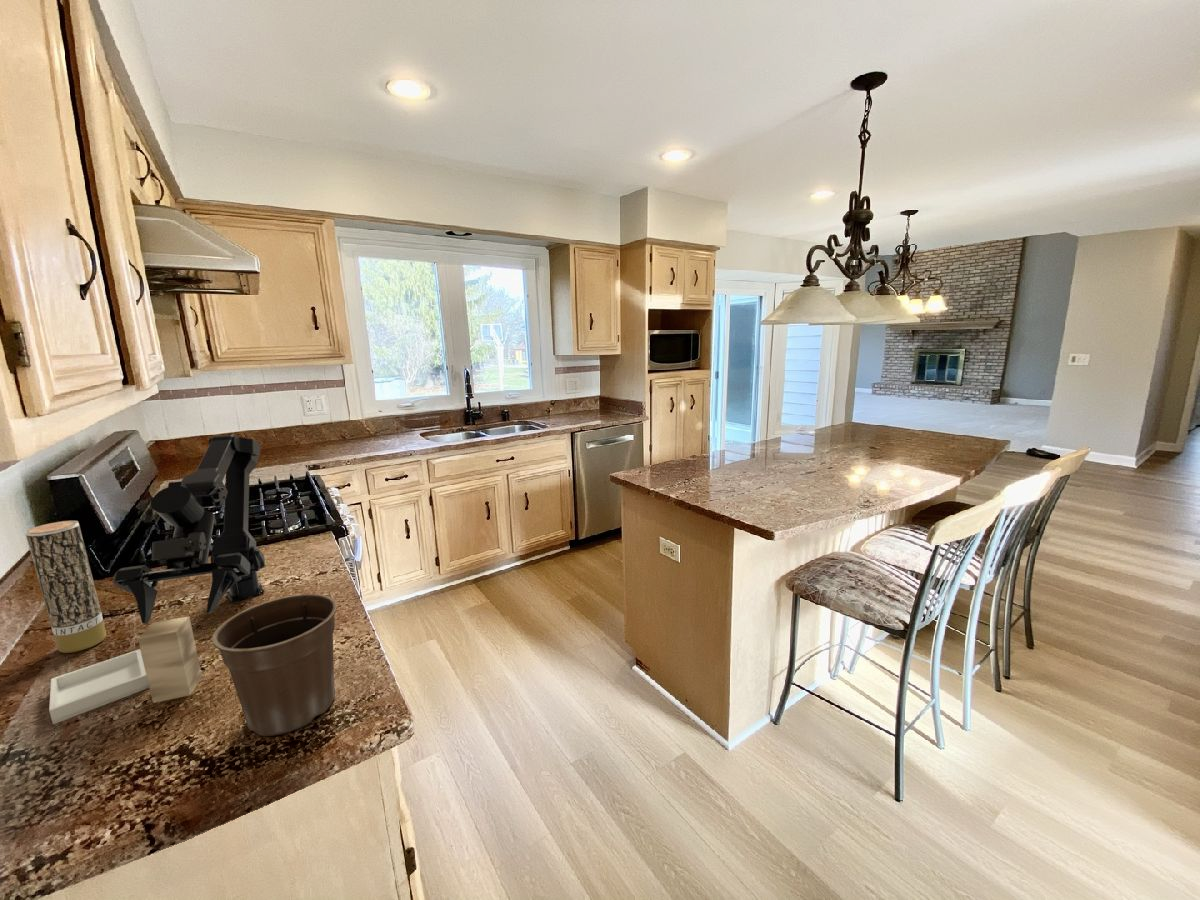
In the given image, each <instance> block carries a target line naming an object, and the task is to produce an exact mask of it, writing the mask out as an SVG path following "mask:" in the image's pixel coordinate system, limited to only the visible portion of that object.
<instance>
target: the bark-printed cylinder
mask: <svg viewBox="0 0 1200 900" xmlns="http://www.w3.org/2000/svg"><path fill="white" fill-rule="evenodd" d="M25 536H26V541H27V543H28V547H29V550H30V554H31V557H32V562H33V566H34V569H35V573H36V576H37V581H38V584H39V588H40V591H41V594H42V597H43V602H44V606H45V609H46V612H47V616H48V619H49V625H50V627H51V630H52V634H53V638H54V640H55V645H56V648H57V650H58V652H60V653H63V654H72V653H77V652H81V651H85V650H87V649H90V648H92V647H94V646H96V645H98V644H99V643H101V642H103V641H104V640H105V639H106V636H107V630H106V626H105V621H104V619H103V613H102V610H101V606H100V603H99V602H100V601H99V598H98V594H97V589H96V587H95V586H96V585H95V582H94V578H93V574H92V570H91V566H90V561H89V557H88V554H87V550H86V546H85V542H84V539H83V534H82V530H81V525H80V523H79V521H78V520H62V521H56V522H50V523H45V524H42V525H37V526H34V527H31V528H29V529H26V530H25Z"/></svg>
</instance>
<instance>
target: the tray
mask: <svg viewBox="0 0 1200 900" xmlns="http://www.w3.org/2000/svg"><path fill="white" fill-rule="evenodd" d="M147 689H150V687H149V683H148V679H147V674H146V670H145V666H144V662H143V658H142V653H141V649H140V648H139V649H136V650H132V651H130V652H127V653H123V654H121V655H117V656H116V657H112V658H109V659H107V660H103V661H100V662H96V663H94V664H91V665H89V666H85V667H82V668H80V669H76V670H73V671H71V672H68V673H65V674H61V675H58V676H56V677H53V678H51V679H50V693H49V694H50V695H49V707H48V708H49V709H48V710H49V714H50V719H51V721H52V722H51V723H52V725H56V724H58V723H60V722H63V721H66V720H68V719H71V718H74V717H76V716H80V715H81V714H82V715H83V714H85V713H87V712H90V711H92V710H94V709H98V708H101V707H103V706H106V705H107V704H110V703H113V702H115V701H119V700H121V699H123V698H127V697H129V696H131V695H133V694H137V693H139V692H142V691H145V690H147Z"/></svg>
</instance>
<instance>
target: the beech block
mask: <svg viewBox="0 0 1200 900" xmlns="http://www.w3.org/2000/svg"><path fill="white" fill-rule="evenodd" d="M193 632H194V631H193V627H192V623H191V617H190V616H183V617H177V618H171V619H166V620H160V621H159V620H158V621H154V622H152V623H151V624H150V625H149V626H148V627H147V628H146V629H145V631H143V632H142V633H141V635H139V637H137V639H138V640H137V641H138V645H139V649H140V650H141V654H142V659H143V663H144V667H145V671H146V676H147V680H148V684H149V690H150V696H151V699H152V703H153V704H155V703H161V702H164V701H169V700H174V699H178V698H183V697H188V696H192V695H191V694H192V693H193V691H195V689H196V687H197V686H198V684H199V683H200V681H201V680H202V679H203V674H202V669H201V666H200V661H199V660H200V659H199V655H198V651H197V647H196V641H195V637H194V633H193Z"/></svg>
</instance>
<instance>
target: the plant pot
mask: <svg viewBox="0 0 1200 900" xmlns="http://www.w3.org/2000/svg"><path fill="white" fill-rule="evenodd" d="M337 605H338V604H337V602H336V600H335V599H334V598H332V597H331V596H328V595H324V594H319V593H301V594H300V593H299V594H294V595H293V594H292V595H288V596H287V595H286V596H284V597H283V596H282V597H279V598H274V599H271V600H267V601H265V602H262V603H259V604H256V605H253V606H251V607H249V608H246V609H244V610H242V611H240V612H238V613H236V614H234V615H233V616H231V617H230V618H228V619H227V620H226V621H224V622H223V623H222V624H220V625H219V626H218V627H217V628H216V630H215V631H214V633H213V634H212V638H211V641H212V643H213V646H214V647H215V648H216V649H217V650H219V653H220V655H221V658H222V659H221V660H222V662H223V664H224V665H225V666H226V667H227V668H228V671H229V674H230V676H231V678H232V682H233V684H234V688H235V691H236V694H237V697H238V700H239V703H240V706H241V709H242V713H243V716H244V719H245V722H246V726H247V728H248V731H249V732H252V731H253V732H254V733H256V735H257V736H261V737H262V736H263V737H264V736H265V737H269V736H270V737H272V736H278V735H283V734H287V733H290V732H293V731H296V730H298V729H301V728H303V727H305V726H307V725H309V724H311V723H312V721H313V719H315V718H316V717H317V716H320V715H323V714H324V713H325V712H326V711H327V710H328V709H330V707H331V705H332V704H333V701H334V700H335V696H336V695H335V694H336V688H335V687H336V686H335V685H336V684H335V683H336V682H335V663H334V662H335V661H334V632H335V629H336V627H335V625H336V624H335V614H336V612H337Z"/></svg>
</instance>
